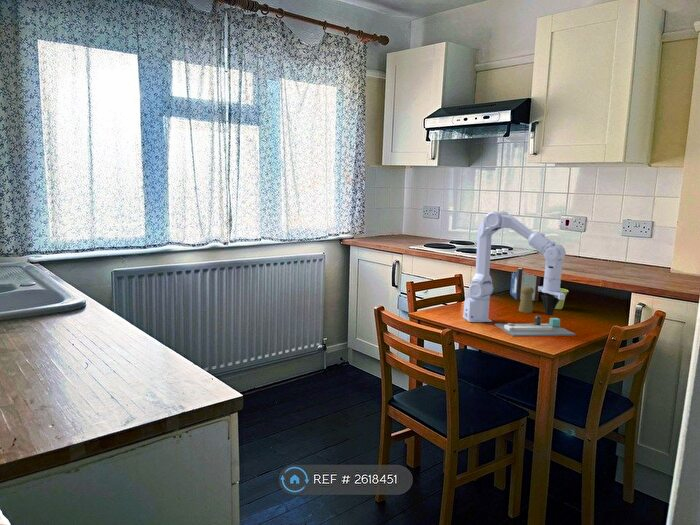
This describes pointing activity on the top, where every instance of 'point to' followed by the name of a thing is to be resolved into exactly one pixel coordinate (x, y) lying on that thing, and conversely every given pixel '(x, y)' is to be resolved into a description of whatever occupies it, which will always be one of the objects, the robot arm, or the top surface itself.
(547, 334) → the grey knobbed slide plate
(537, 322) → the black knobbed slide plate
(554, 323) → the teal block
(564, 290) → the plant pot
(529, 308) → the olive tapered shaker
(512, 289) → the protein box
